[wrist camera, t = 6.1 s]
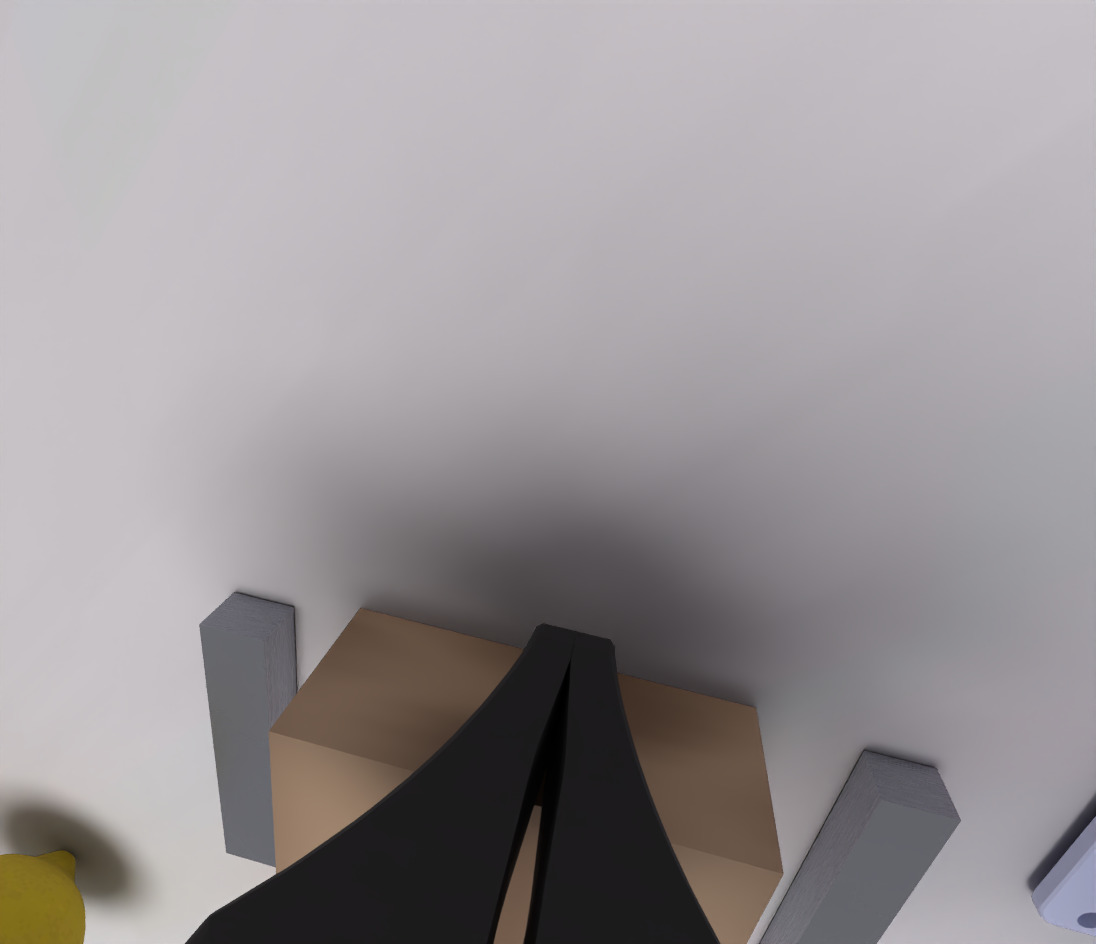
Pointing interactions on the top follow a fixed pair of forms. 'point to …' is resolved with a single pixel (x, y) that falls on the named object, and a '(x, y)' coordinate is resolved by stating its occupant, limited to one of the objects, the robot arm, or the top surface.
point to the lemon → (40, 900)
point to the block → (459, 690)
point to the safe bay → (809, 906)
